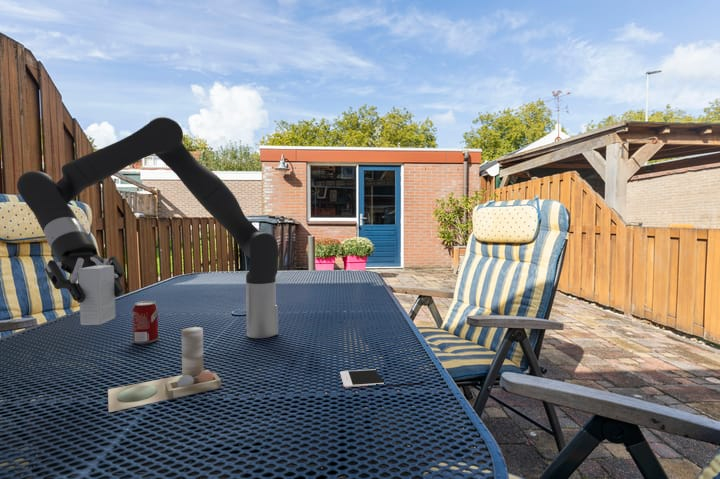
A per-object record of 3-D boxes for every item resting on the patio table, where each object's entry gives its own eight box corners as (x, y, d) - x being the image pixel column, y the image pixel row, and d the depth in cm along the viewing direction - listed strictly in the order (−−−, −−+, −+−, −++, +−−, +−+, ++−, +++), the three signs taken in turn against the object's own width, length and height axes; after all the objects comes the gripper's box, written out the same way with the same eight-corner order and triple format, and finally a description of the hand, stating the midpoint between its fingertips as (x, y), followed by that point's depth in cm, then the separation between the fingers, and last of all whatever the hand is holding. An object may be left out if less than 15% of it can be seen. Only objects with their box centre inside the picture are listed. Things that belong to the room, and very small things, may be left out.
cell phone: (423, 385, 88) (423, 381, 88) (343, 390, 85) (343, 386, 85) (412, 370, 96) (412, 366, 96) (339, 375, 94) (339, 371, 94)
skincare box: (96, 318, 88) (94, 265, 87) (116, 318, 88) (114, 265, 87) (78, 325, 82) (77, 268, 81) (100, 325, 82) (98, 268, 81)
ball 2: (212, 381, 86) (211, 367, 85) (215, 386, 83) (215, 372, 83) (196, 385, 84) (196, 370, 84) (199, 390, 81) (199, 375, 81)
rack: (208, 374, 93) (207, 324, 92) (221, 393, 83) (220, 336, 82) (108, 395, 82) (106, 337, 81) (108, 418, 72) (107, 353, 71)
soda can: (147, 345, 115) (146, 305, 114) (127, 344, 116) (126, 304, 116) (163, 339, 122) (162, 301, 121) (144, 338, 123) (143, 300, 122)
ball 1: (192, 386, 83) (192, 371, 83) (195, 391, 81) (195, 376, 81) (176, 389, 82) (175, 374, 81) (178, 395, 79) (178, 379, 79)
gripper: (38, 230, 81) (71, 291, 76) (109, 229, 94) (141, 281, 89) (26, 255, 84) (57, 315, 79) (96, 251, 96) (127, 302, 92)
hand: (101, 297), depth 84 cm, fingers closed on skincare box, 7 cm apart
